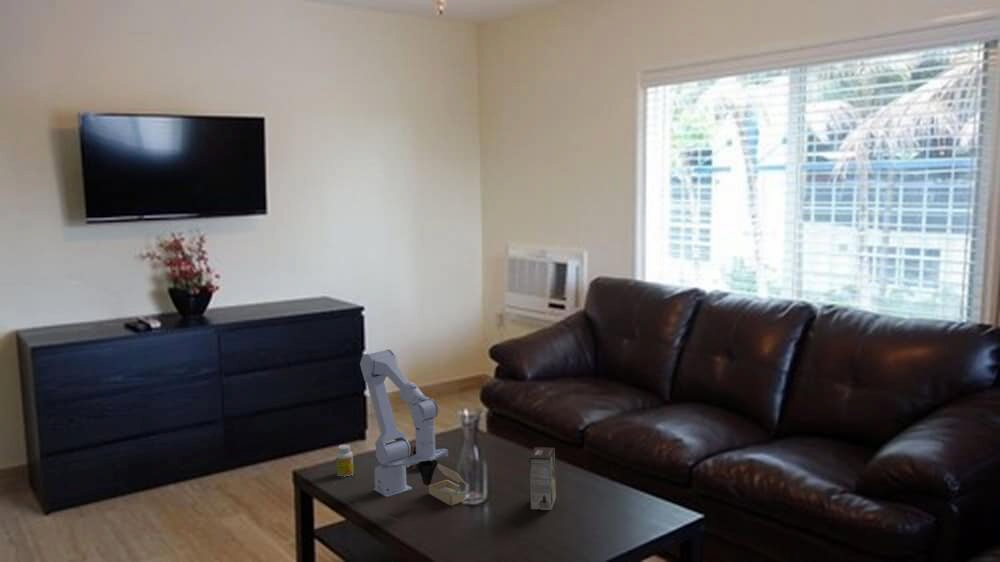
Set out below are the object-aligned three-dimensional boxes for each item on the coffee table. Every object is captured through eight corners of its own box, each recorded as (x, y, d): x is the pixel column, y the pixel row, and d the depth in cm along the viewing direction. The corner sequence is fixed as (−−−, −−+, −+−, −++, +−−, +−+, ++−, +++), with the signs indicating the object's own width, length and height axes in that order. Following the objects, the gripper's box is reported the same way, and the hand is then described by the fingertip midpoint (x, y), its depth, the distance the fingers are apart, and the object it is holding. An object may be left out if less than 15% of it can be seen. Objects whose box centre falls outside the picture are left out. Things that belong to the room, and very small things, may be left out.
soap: (450, 500, 239) (449, 494, 239) (438, 496, 242) (438, 489, 242) (457, 497, 241) (456, 490, 241) (445, 493, 244) (445, 486, 244)
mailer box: (450, 506, 235) (450, 497, 235) (428, 494, 245) (428, 485, 244) (469, 500, 239) (469, 491, 239) (447, 488, 249) (447, 479, 248)
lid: (456, 473, 235) (457, 472, 235) (433, 462, 245) (434, 461, 245) (468, 487, 238) (469, 486, 238) (445, 475, 248) (445, 474, 248)
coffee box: (535, 496, 241) (534, 446, 239) (556, 498, 240) (555, 447, 237) (530, 509, 232) (529, 457, 230) (552, 510, 231) (551, 458, 229)
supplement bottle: (335, 477, 260) (334, 449, 259) (339, 471, 265) (337, 443, 264) (351, 477, 260) (350, 449, 259) (355, 471, 265) (353, 443, 264)
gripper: (411, 449, 227) (413, 494, 229) (453, 438, 236) (454, 481, 238) (399, 443, 233) (400, 487, 234) (440, 432, 241) (441, 475, 243)
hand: (427, 484), depth 236 cm, fingers closed
